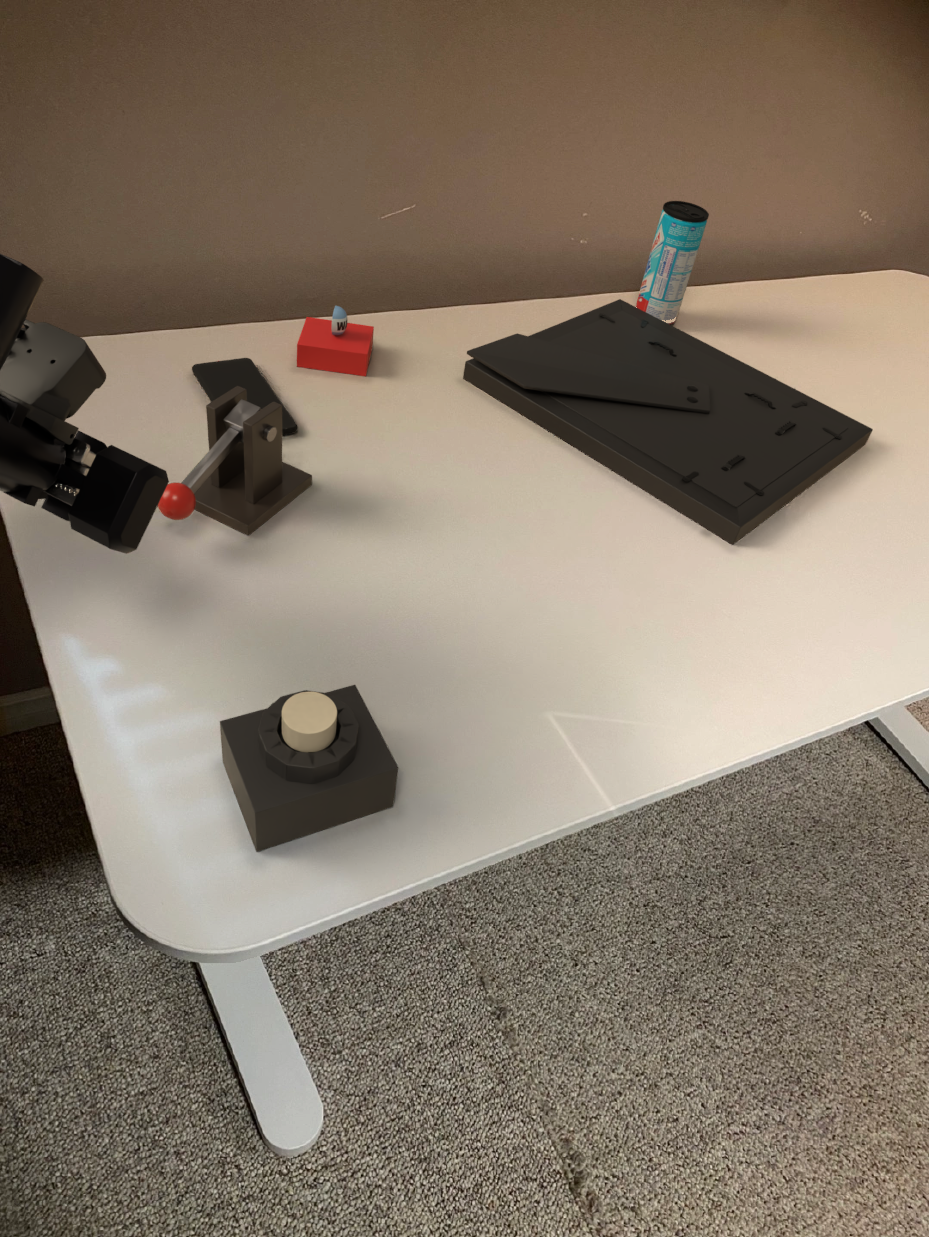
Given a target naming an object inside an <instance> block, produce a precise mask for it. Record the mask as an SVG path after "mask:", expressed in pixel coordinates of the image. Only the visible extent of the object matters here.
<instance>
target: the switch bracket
mask: <svg viewBox="0 0 929 1237" xmlns="http://www.w3.org/2000/svg"><path fill="white" fill-rule="evenodd" d="M241 399H242V400H245V401H247V398H246V389H244V388H242V387H239V386H237V387H235V388H233V389H232V390H230V391H228V392H227V393H225V394H224V395H222V396H220V397H219V398H217V399H216V400H214V401H212V402H211V401H210V402H209V403H208V404H206V405H205V408H206V410H205V412H206V424H207V438H208V439H207V440H208V451H209V450H210V449H211V448H212V447H213V446H214V445H215V444H216V442H217V441H218V440H219V439H220V438H221V437H222V436H223V434H224V433H225V432H226V431H227V428H226V426H225V423H224V418H225V417H226V416H227V415H228V414H229V413H230V411H231V410H232V409H233V408H234V407H235V406H236V405H237V404H238V402H239V401H240V400H241ZM243 440H244V443H242V442H239V443H238V444H237V445H236V446H235V447H234V449H233V450H232V451H231V452H230V453H229V454H228V455H227V457H226V458H225V459H224V460H223V461H222V462H221V464H220V465H219V466H218V467H217V468H216V469H215V471H214V472H213V473H212V474H211V475H210V476H209V477H208V479H207V480H206V481H205V482H204V483H203V484H202V486H201V487H200V488H199V489H198V490H197V491H196V493H195V494H194V495H195V498H196V505H195V509H194V511H196V512H199V513H201V514H203V515H205V516H207V517H209V518H211V519H213V520H215V521H217V522H219V523H221V524H223V525H225V526H227V527H229V528H232V529H233V530H235V531H238V532H239V533H242V534H243V535H246V536H250V535H251V534H252V533H254V532H255V531H257V530H258V529H259V528H260V527H262V525H264V524H265V523H266V522H268V521H269V520H270V519H271V518H272V517H274V516H275V515H277V514H278V513H279V512H280V511H281V510H283V509H284V508H285V507H286V506H287V505H289V504H290V503H291V502H292V501H294V500H295V499H296V498H298V497H299V496H300V495H301V494H302V493H304V492H305V491H306V490H307V489H309V488H310V487H311V486H312V485H313V475H312V474H310V473H309V472H306V471H304V470H302V469H300V468H297V467H296V466H293V465H291V464H289V463H286V462H285V461H283V435H282V405H280V404H278V403H276V402H272V403H270V404H269V405H267V406H266V407H264V408H263V409H261V410H260V411H258V412H257V413H255V414H254V415H253V416H251V417H250V418H248V419H247V420H245V421H244V422H243Z"/></svg>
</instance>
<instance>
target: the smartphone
mask: <svg viewBox="0 0 929 1237" xmlns="http://www.w3.org/2000/svg"><path fill="white" fill-rule="evenodd" d="M191 372H192V374H193V375H194V376H195V378H196V380H197V381H198V383H199V384H200V387H201V388H202V389H203V391H204V393H205V394H206V396H207V398H208V399H209V401H210V403H211V402H212V401H214V400H216V399H217V398H219V397H220V396H222V395H224V394H225V393H227V392H228V391H230V390H232V389H233V388H235V387H237V386H239V387H242V388H244V389H246V398H247V402H249V403H251V404H254V405H256V406H258V407H260V408H261V409H263V408H264V407H266V406H267V405H269V404H270V403H272V402H276V403H278V404H280V405H282V436H285V435H290V434H291V435H292V434H295V433H296V432H298V429H299V426H298V424H297V422H296V421H295V419H294V418H293V417H292V415H291V414H290V412H289V411H288V410H287V408H286V407H285V405H284V404H283V402H282V401H281V400H280V398H279V397H278V395H277V393H276V392H275V391H274V389H273V388H272V387H271V384H269V383H268V381H267V379H266V378H265V377H264V375H263V374H262V373H261V371H260V369H259V368H258V367H257V366H256V364H255V362H254V361H253V360H252V359H251V358H249V357H241V358H231V359H225V360H224V359H223V360H217V361H210V362H209V361H208V362H201V363H195V364H193V365H192V366H191Z"/></svg>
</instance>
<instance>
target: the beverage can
mask: <svg viewBox="0 0 929 1237" xmlns="http://www.w3.org/2000/svg"><path fill="white" fill-rule="evenodd" d="M709 217H710V214H709V211H707V209H705V208H704V207H702V206H700V205H697V204H695V203H692V202H688V201H682V200H669V201H665V202H664V203H663V204H662V210H661V212H660V217H659V220H658V223H657V226H656V230H655V234H654V237H653V240H652V245H651V249H650V252H649V256H648V258H647V259H648V260H647V263H646V267H645V271H644V274H643V278H642V282H641V285H640V289H639V292H638V295H637V296H638V297H637V300H636V303H635V306H636V307H637V308H638V309H640V310H642V311H644V312H646V313H648V314H650V315H652V316H654V317H656V318H658V319H660V320H665V321H666V320H670V319H671V320H672V319H674V318H675V317H677V318H678V316H679V312H680V310H681V306H682V304H683V300H684V296H685V294H686V291H687V287H688V283H689V281H690V278H691V275H692V272H693V269H694V265H695V262H696V258H697V255H698V252H699V249H700V246H701V242H702V239H703V236H704V233H705V229H706V226H707V223H708V219H709ZM676 321H677V319H676V320H675V321H674V322H671V323H668V324H670V325H671V326H674V324H675V323H676Z"/></svg>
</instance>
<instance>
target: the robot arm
mask: <svg viewBox="0 0 929 1237" xmlns="http://www.w3.org/2000/svg"><path fill="white" fill-rule="evenodd" d="M44 281H45V280H44V278H43V277H42V275H40V274H39V273H37V272H36V271H35V270H34V269H32V268H31V267H29V266H28V265H26V264H24V263H23V262H21V261H19V260H16V259H14V258H12V257H9V256H7V255H4V254H2V253H0V492H2V493H3V494H5V495H7V496H9V497H11V498H13V499H15V500H17V501H19V502H21V503H23V504H26V505H28V506H31V507H34V508H35V507H36V506H37V503H38V501H39V500H44V501H43V503H42V505H41V507H40V508H41V509H43V510H44V511H46V512H49V513H50V514H52V515H54V516H56V517H58V518H60V519H62V520H64V521H66V522H69V525H70V529H71V530H73V531H75V532H76V533H79V534H81V535H82V536H84V537H86V538H88V539H90V540H92V541H94V542H95V543H98V544H100V545H102V546H104V547H106V548H108V549H109V550H112V551H116V552H119V553H123V554H126V555H127V554H130V553H132V552H134V551H137V549H138V548H139V545H140V544H141V541H142V539H143V537H144V535H145V533H146V532H147V528H148V527H149V524H150V523H151V521H152V518H153V516H154V514H155V511H156V510H157V508H158V503H159V501H160V499H161V497H162V495H163V493H164V491H165V489H166V487H167V485H168V484H169V482H170V480H169V477H168V474H167V470H165V469H163V468H161V467H159V466H156V465H155V464H152V463H151V462H149V461H147V460H145V459H142V458H141V457H138V456H136V455H133V454H132V453H130V452H128V451H125V450H124V449H121V448H119V447H118V446H115V445H113V444H110V445H108V446H107V445H106V443H105V442H104V441H101V440H99V439H97V438H95V437H94V436H91V435H89V434H87V433H85V432H83V431H82V430H79V429H80V428H79V427H78V426H75V425H73V424H71V423H69V422H68V421H66V420H67V419H69V418H72V417H73V416H75V415H76V414H77V412H78V411H80V409H81V408H82V406H83V405H84V404H85V403H86V401H87V400H89V398H90V397H91V396H92V395H93V393H94V392H95V391H96V390H98V389H100V388H101V387H102V386H103V385H104V384H105V382H106V380H107V373H106V371H105V369H104V367H103V366H102V365H101V363H100V362H99V360H98V358H97V357H96V355H95V354H94V352H93V351H92V349H91V348H90V346H89V345H88V343H87V342H86V340H85V339H84V338H83V337H80V336H79V335H76V334H74V333H71V332H69V331H67V330H65V329H63V328H60V327H58V326H56V325H54V324H51V323H49V322H45V321H39V322H33V321H31V320H29V319H27V317H28V315H29V313H30V311H31V309H32V306H33V304H34V302H35V300H36V298H37V296H38V294H39V292H40V290H41V288H42V286H43V283H44ZM23 326H24V327H23Z"/></svg>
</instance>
